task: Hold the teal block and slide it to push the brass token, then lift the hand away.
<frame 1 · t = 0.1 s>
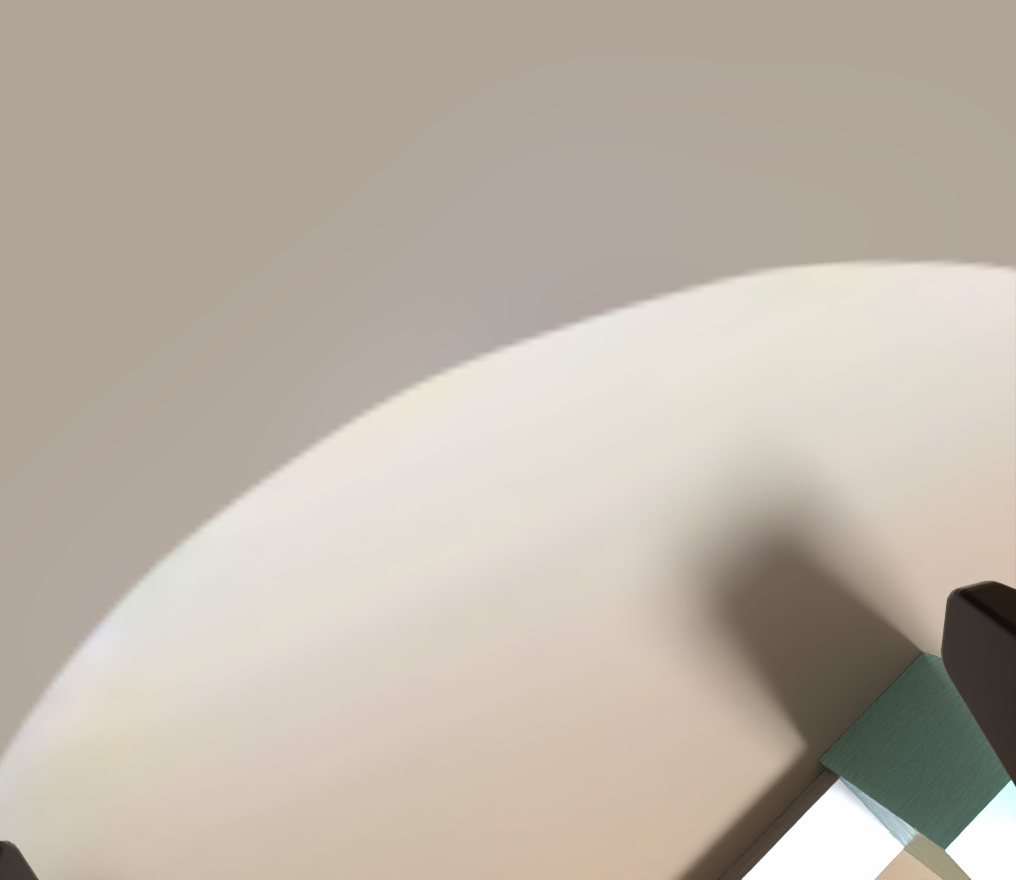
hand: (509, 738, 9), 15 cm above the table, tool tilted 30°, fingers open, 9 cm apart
teal block: (909, 747, 24), on the table
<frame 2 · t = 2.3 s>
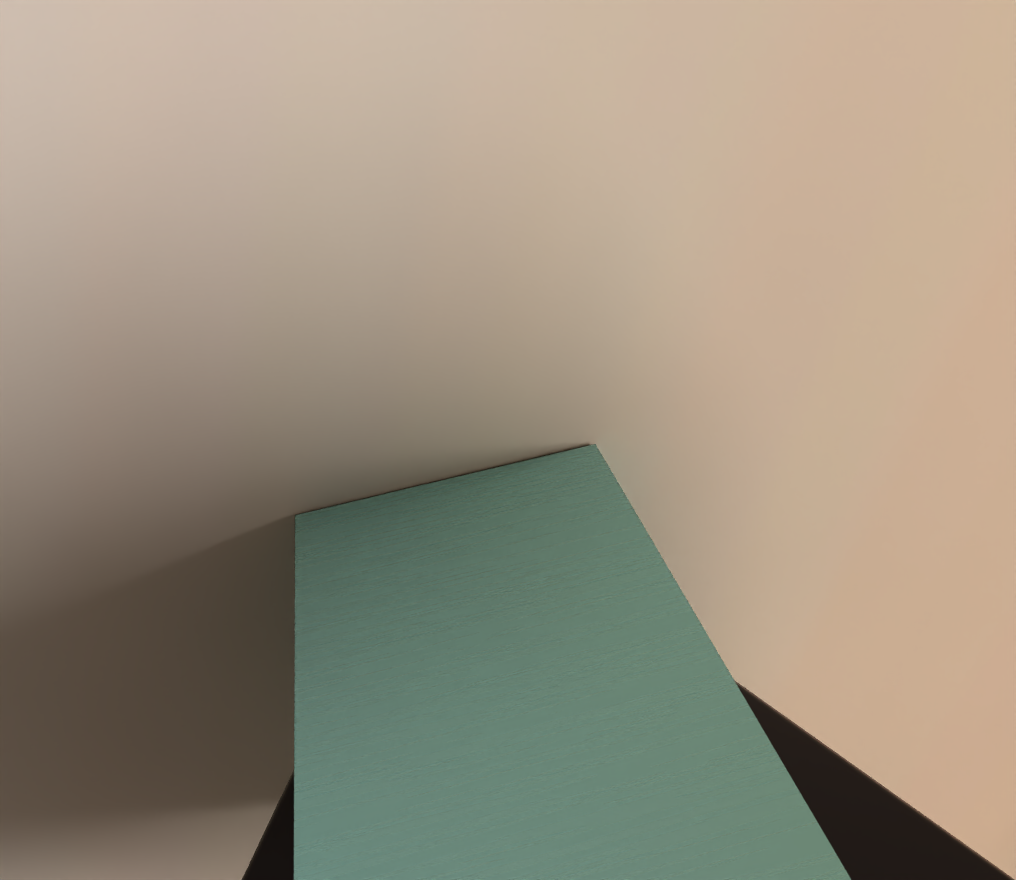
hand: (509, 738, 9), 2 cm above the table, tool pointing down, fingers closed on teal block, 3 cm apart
teal block: (481, 632, 10), on the table, touching gripper
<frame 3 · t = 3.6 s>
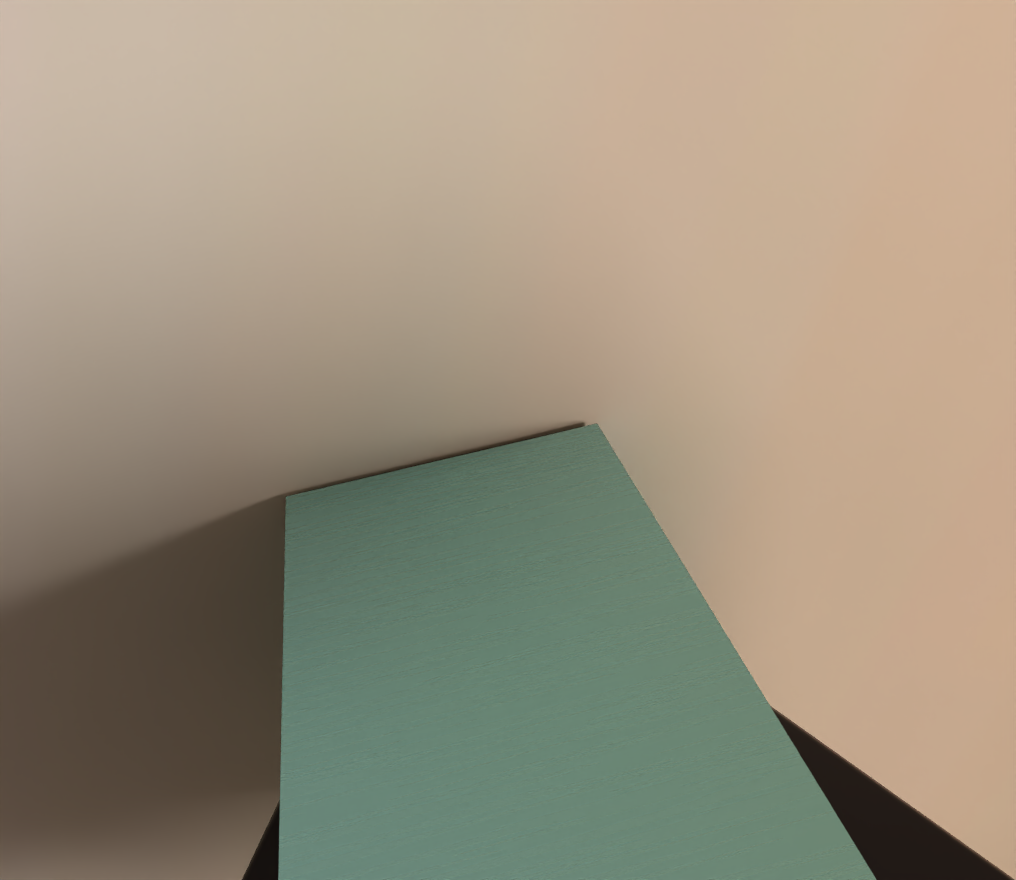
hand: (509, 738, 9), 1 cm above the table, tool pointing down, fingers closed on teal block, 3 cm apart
teal block: (479, 619, 10), on the table, touching gripper
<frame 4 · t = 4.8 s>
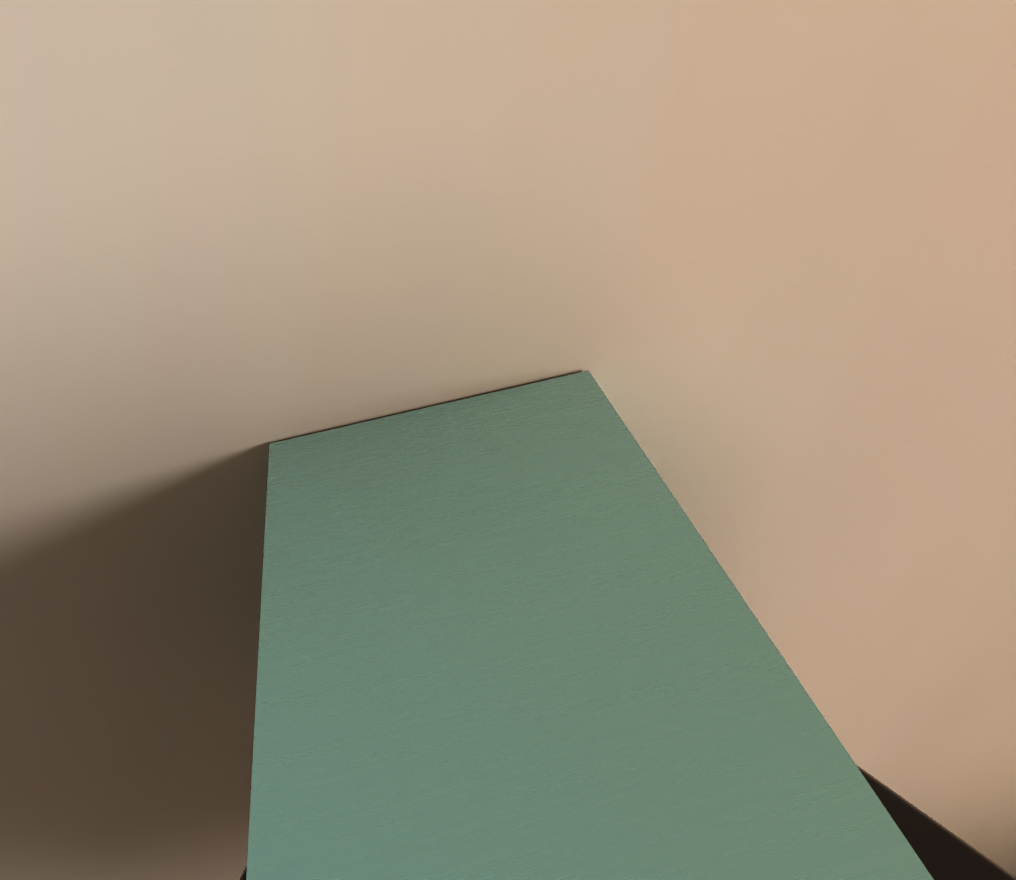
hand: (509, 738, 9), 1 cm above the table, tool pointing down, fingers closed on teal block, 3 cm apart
teal block: (468, 576, 9), on the table, touching gripper
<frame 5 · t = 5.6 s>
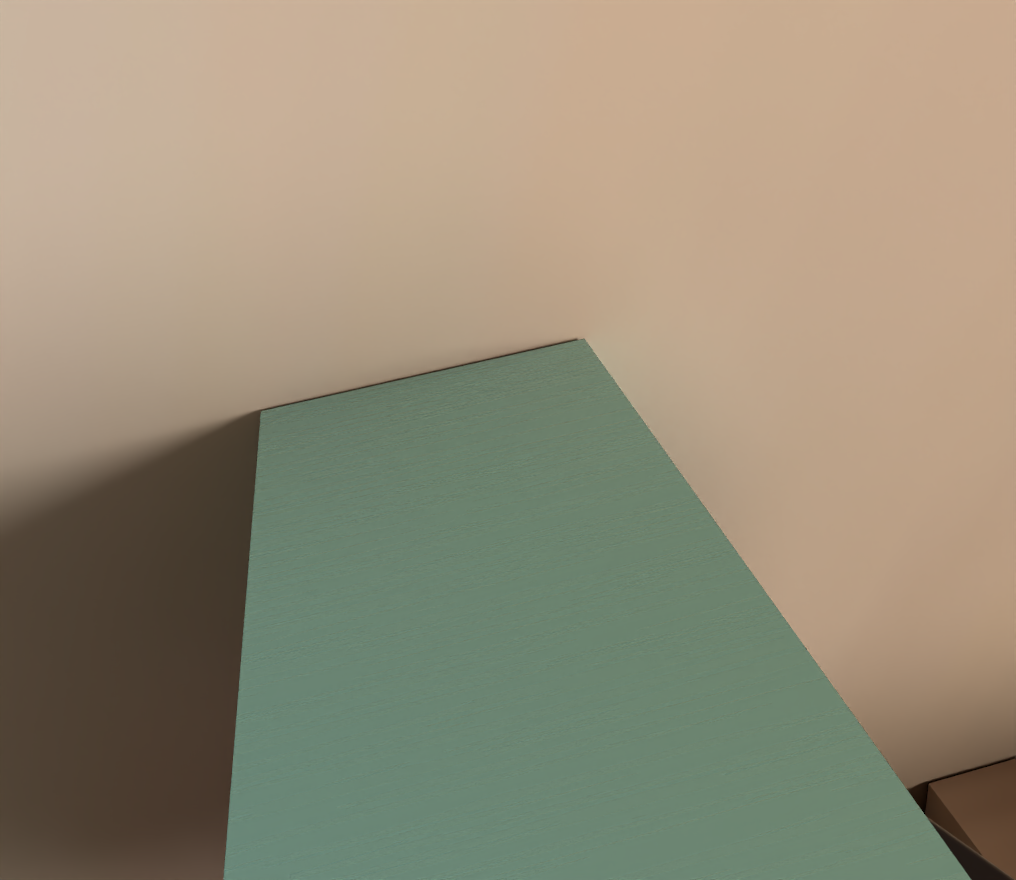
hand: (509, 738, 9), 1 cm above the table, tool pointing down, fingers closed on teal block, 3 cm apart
teal block: (463, 549, 9), on the table, touching gripper
when the fingers open (1 cm above the table, at t = 6.6 s): teal block stays where it is, on the table.
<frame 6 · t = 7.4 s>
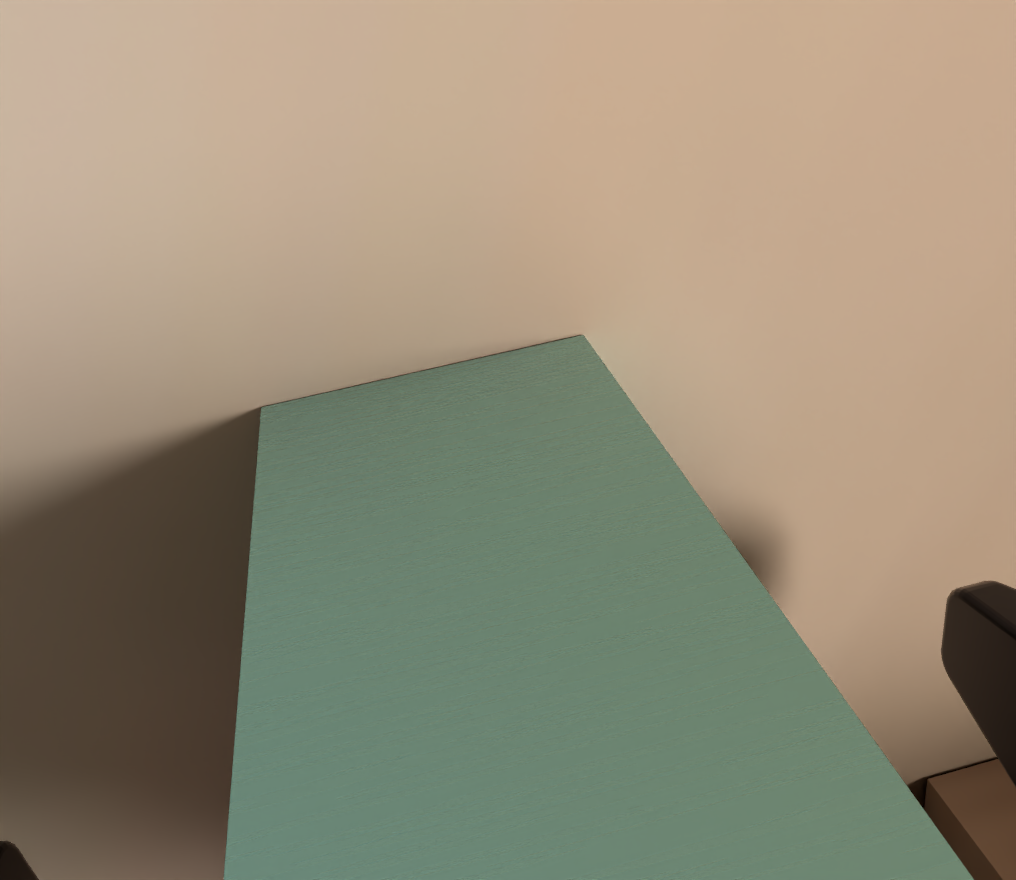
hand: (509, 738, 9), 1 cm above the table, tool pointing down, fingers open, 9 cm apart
teal block: (463, 545, 9), on the table
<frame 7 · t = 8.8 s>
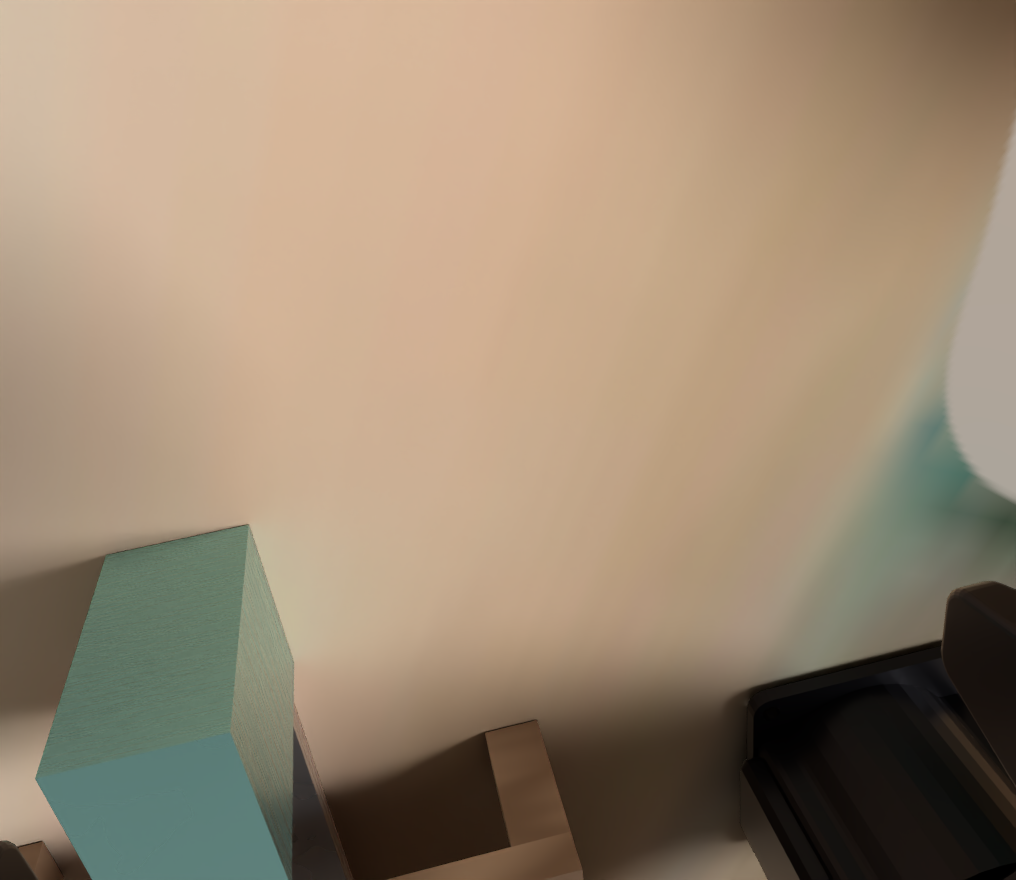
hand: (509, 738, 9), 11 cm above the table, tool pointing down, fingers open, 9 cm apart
teal block: (205, 611, 21), on the table
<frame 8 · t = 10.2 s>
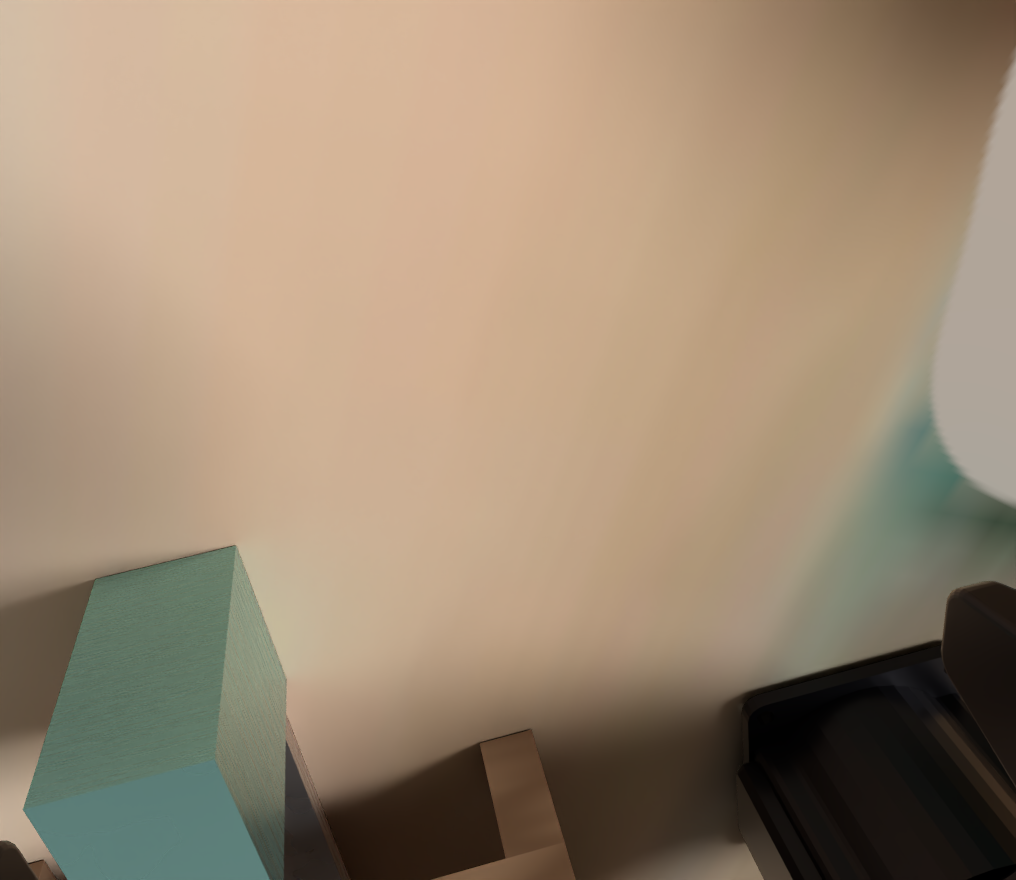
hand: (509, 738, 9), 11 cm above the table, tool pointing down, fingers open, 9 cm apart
teal block: (196, 632, 21), on the table
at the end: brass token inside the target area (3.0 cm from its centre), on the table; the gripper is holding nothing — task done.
